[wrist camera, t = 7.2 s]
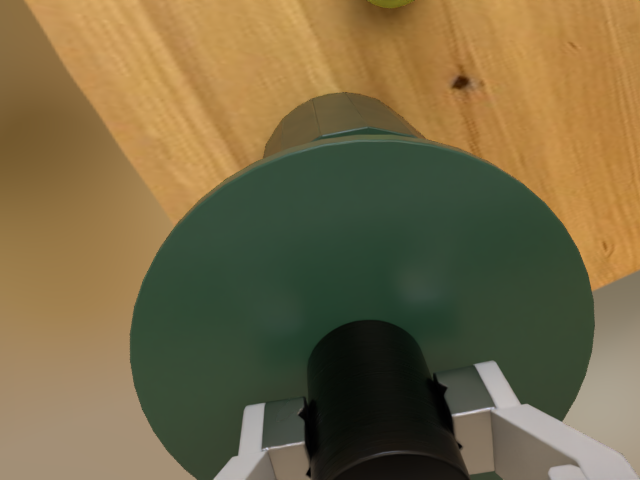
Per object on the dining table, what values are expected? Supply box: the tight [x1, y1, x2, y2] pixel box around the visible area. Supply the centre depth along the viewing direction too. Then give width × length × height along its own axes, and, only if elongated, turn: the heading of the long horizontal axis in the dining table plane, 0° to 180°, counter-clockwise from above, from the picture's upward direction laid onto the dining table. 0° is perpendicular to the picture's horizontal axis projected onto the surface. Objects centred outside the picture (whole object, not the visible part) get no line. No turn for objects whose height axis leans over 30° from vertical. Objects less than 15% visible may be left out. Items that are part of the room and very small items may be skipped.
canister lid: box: [130, 135, 595, 480], centre depth 13 cm, size 13×13×6 cm
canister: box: [263, 92, 426, 159], centre depth 32 cm, size 12×12×12 cm
